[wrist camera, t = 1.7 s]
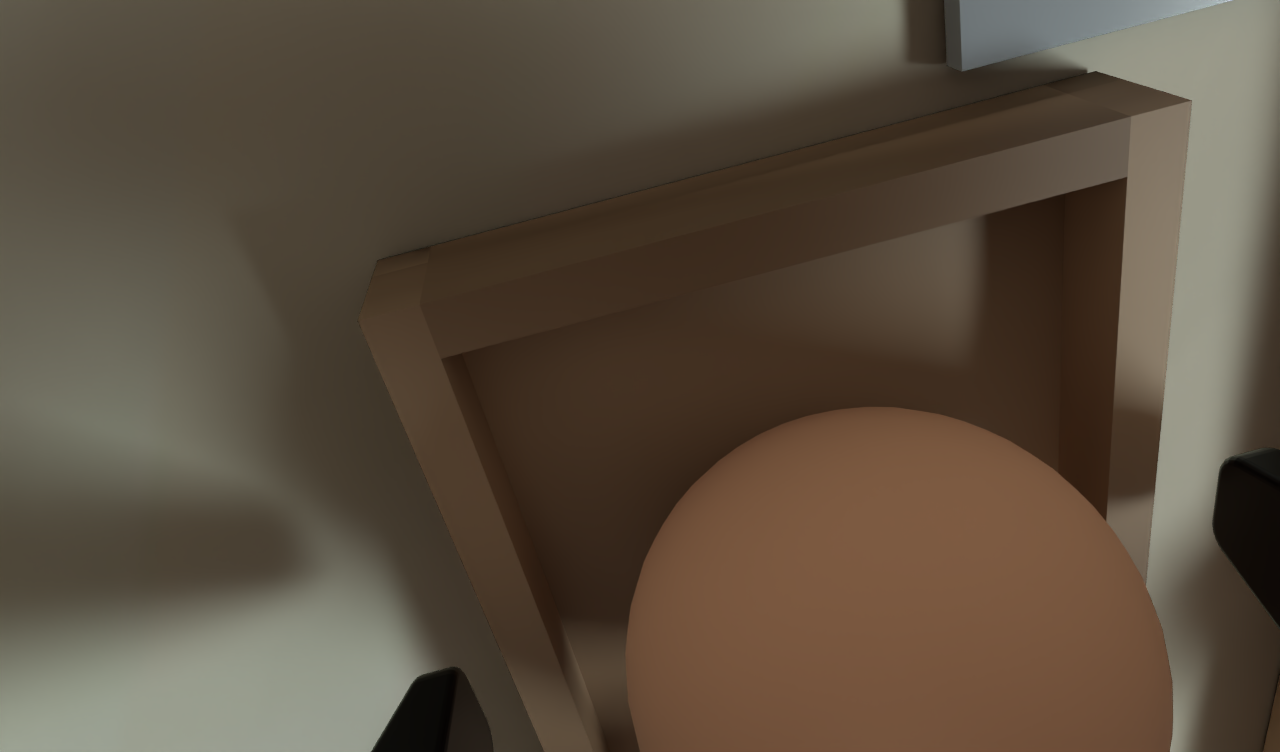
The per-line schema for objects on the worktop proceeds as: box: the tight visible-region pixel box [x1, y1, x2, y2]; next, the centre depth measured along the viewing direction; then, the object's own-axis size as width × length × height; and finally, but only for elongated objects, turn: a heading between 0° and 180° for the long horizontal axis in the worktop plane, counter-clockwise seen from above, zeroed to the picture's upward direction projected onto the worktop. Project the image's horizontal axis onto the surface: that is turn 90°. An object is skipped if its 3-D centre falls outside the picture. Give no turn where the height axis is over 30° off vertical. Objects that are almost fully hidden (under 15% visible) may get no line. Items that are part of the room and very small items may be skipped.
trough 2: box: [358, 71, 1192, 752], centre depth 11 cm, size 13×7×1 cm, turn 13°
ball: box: [625, 407, 1173, 752], centre depth 8 cm, size 4×4×4 cm
